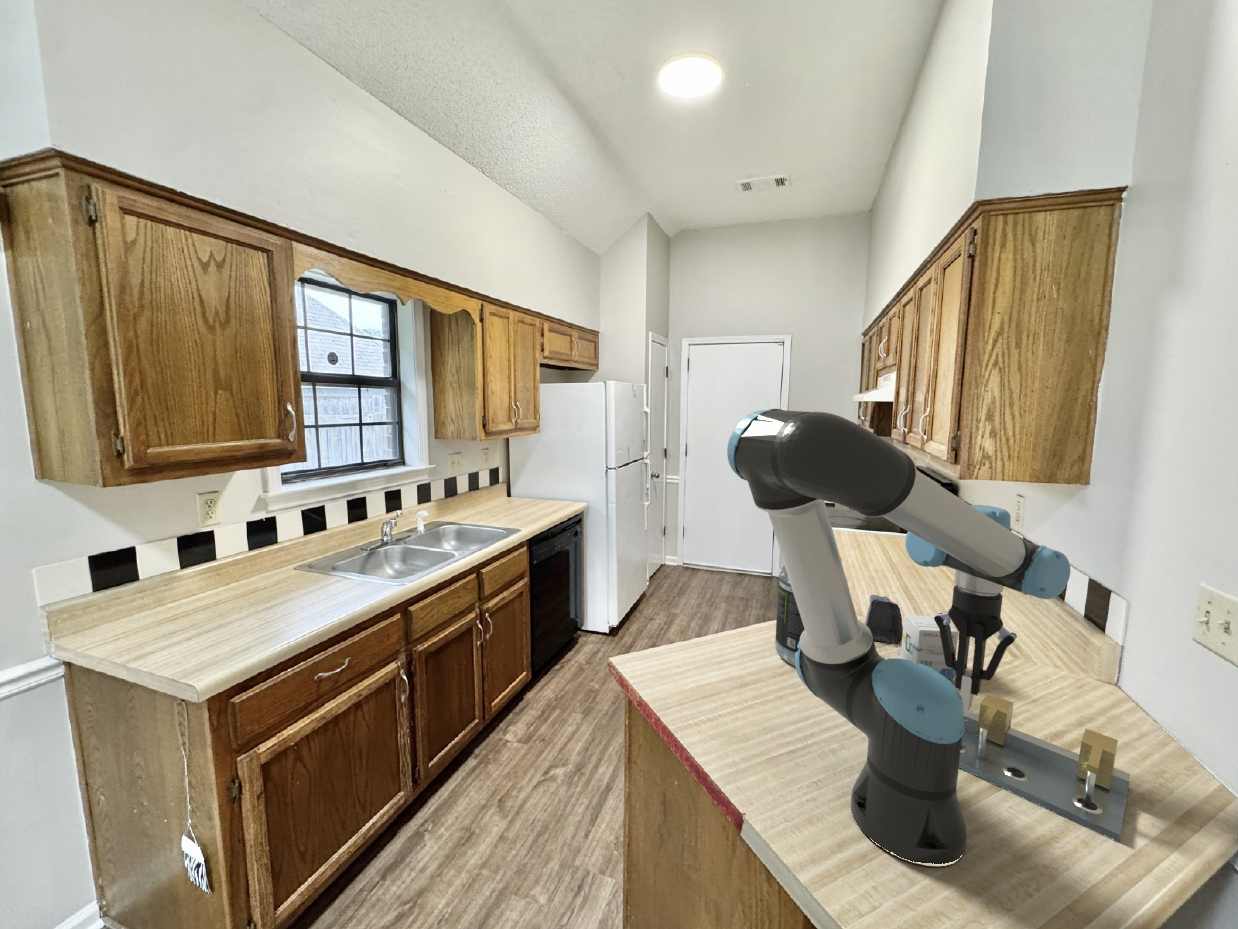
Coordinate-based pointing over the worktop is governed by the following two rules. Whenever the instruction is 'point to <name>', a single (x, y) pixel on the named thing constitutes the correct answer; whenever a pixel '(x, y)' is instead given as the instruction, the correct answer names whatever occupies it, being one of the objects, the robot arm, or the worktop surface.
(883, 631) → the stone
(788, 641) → the supplement tub
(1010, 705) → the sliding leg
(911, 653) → the ink box
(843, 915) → the worktop surface
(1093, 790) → the grey peg fixture
